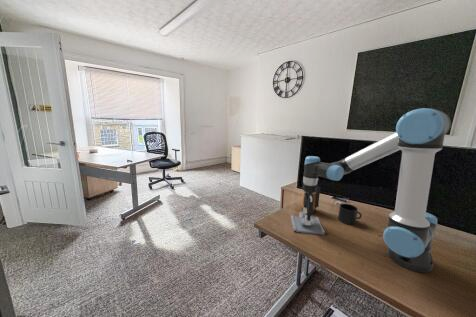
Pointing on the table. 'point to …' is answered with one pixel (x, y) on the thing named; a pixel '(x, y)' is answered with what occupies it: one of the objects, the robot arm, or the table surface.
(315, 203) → the canister
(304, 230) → the keeper plate
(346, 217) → the mug
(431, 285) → the table surface
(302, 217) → the square frame
